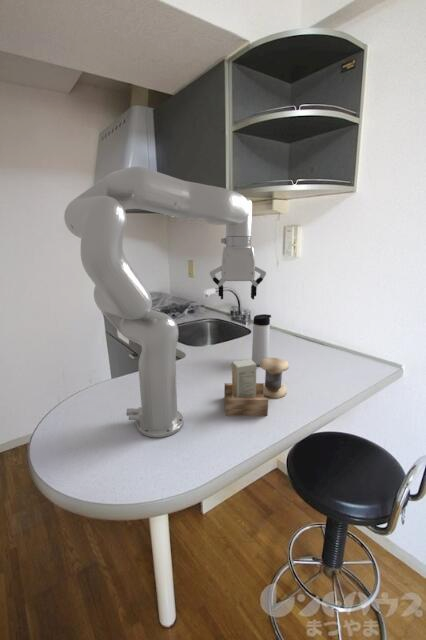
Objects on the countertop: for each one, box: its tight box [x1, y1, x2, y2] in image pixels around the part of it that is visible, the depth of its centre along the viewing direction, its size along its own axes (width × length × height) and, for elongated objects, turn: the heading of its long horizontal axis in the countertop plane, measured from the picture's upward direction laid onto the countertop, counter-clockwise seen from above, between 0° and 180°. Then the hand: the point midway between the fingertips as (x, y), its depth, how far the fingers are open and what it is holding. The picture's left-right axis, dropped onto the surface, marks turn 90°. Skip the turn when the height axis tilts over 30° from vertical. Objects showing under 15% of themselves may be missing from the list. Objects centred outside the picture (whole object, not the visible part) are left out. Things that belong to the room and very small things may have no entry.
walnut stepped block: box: [224, 382, 269, 417], centre depth 95 cm, size 12×10×5 cm
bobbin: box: [260, 357, 290, 399], centre depth 103 cm, size 9×9×10 cm
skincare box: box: [231, 358, 257, 398], centre depth 93 cm, size 6×4×12 cm
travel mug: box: [251, 313, 272, 368], centre depth 122 cm, size 6×7×20 cm
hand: (237, 298), depth 99 cm, fingers open, 9 cm apart
